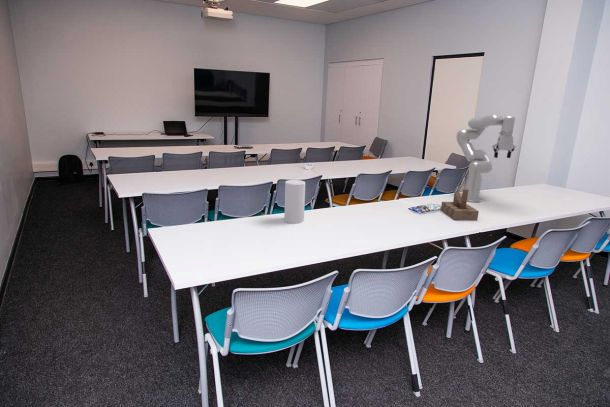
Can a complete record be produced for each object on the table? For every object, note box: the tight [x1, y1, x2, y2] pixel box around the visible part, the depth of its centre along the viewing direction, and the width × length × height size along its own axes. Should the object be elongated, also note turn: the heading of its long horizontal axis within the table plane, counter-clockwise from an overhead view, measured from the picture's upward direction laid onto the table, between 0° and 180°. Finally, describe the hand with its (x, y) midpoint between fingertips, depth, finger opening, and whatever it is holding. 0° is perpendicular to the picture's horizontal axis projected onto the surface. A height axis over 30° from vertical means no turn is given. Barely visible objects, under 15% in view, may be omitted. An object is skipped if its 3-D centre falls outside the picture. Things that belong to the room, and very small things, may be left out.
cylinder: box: [283, 179, 306, 225], centre depth 251 cm, size 12×12×25 cm
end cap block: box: [440, 201, 480, 221], centre depth 278 cm, size 22×16×6 cm
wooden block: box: [452, 188, 469, 209], centre depth 276 cm, size 4×11×18 cm, turn 18°
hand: (502, 157), depth 287 cm, fingers open, 9 cm apart
